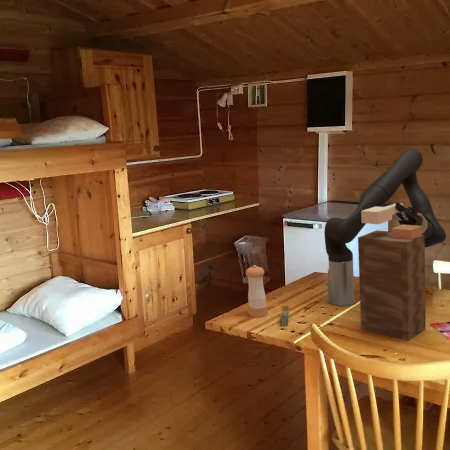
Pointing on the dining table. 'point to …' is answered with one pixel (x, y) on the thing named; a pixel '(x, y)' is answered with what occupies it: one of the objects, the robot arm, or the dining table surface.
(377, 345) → the dining table surface
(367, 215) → the beige long block
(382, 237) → the walnut stand
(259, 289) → the pepper shaker
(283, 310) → the medication box
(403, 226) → the terracotta block
